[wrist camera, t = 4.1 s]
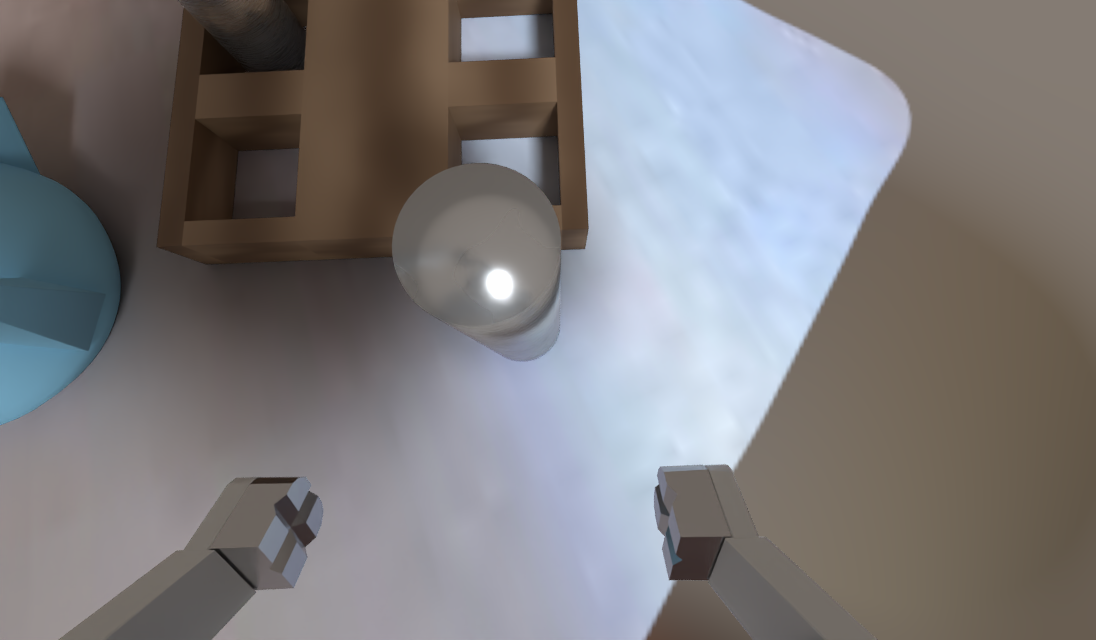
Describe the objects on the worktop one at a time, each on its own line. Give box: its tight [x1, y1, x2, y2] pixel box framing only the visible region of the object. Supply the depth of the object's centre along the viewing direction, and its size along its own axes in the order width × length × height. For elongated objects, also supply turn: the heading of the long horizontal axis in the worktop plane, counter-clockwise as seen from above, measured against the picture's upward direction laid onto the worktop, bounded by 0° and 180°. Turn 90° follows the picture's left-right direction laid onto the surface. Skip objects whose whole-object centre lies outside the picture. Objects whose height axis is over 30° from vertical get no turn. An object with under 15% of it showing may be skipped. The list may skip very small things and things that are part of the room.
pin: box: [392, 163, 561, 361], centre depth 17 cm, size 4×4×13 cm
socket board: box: [157, 0, 589, 264], centre depth 24 cm, size 21×16×3 cm
